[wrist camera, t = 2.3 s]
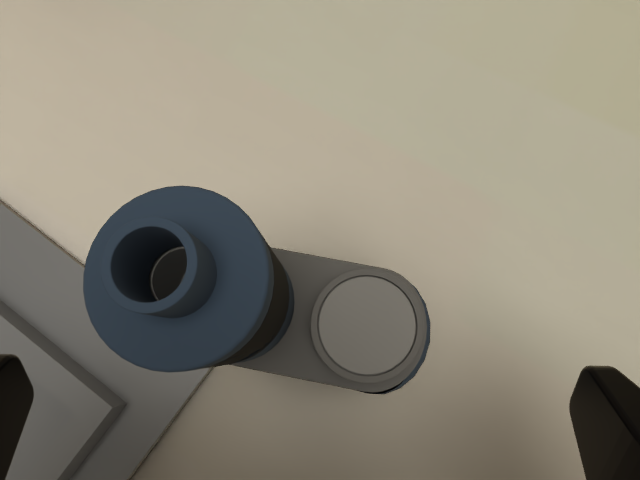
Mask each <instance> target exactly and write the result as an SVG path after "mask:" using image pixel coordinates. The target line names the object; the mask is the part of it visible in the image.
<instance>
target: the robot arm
mask: <svg viewBox="0 0 640 480" xmlns="http://www.w3.org/2000/svg"><path fill="white" fill-rule="evenodd" d="M33 398H34V389H33V386H32V383H31V381H30V379H29V377H28V375H27V373H26V371H25V369H24V366H23V364H22V362H21V360H20V359H19V357H17V356H16V355H14V354H0V480H5V479H6V476H7V473H8V471H9V468H10V465H11V462H12V459H13V457H14V454H15V451H16V448H17V445H18V442H19V440H20V437H21V434H22V431H23V428H24V426H25V423H26V420H27V417H28V414H29V412H30V409H31V406H32V403H33ZM569 409H570V416H571V420H572V424H573V428H574V432H575V436H576V440H577V444H578V448H579V452H580V456H581V460H582V464H583V468H584V472H585V476H586V480H640V388H639V387H638V386H637V385H636V384H635V383H633V382H632V381H631V380H630V379H628V378H627V377H626V376H625V375H623V374H622V373H621V372H620V371H618V370H617V369H615V368H613V367H610V366H586V367H585V368H583V369H582V371H581V373H580V376H579V378H578V381H577V383H576V386H575V388H574V391H573V394H572V396H571V399H570V404H569Z"/></svg>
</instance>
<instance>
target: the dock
mask: <svg viewBox="0 0 640 480" xmlns="http://www.w3.org/2000/svg"><path fill="white" fill-rule="evenodd" d="M84 269H85V266H84V265H83V264H81V263H80V262H79V261H78V260H76V259H75V258H74V257H72V256H71V255H70V254H69V253H67V252H66V251H65V250H63V249H62V248H61V247H60V246H58V245H57V244H56V243H55V242H53V241H52V240H51V239H49V238H48V237H47V236H46V235H44V234H43V233H42V232H40V231H39V230H38V229H37V228H35V227H34V226H33V225H31V224H30V223H29V222H28V221H26V220H25V219H24V218H22V217H21V216H20V215H19V214H17V213H16V212H15V211H13V210H12V209H11V208H10V207H8V206H7V205H6V204H4V203H3V202H2V201H1V200H0V354H14V355H16V356H17V357H19V359H20V360H21V362H22V364H23V366H24V369H25V371H26V373H27V375H28V377H29V379H30V381H31V383H32V386H33V389H34V398H33V403H32V406H31V409H30V412H29V414H28V417H27V420H26V423H25V426H24V428H23V431H22V434H21V437H20V440H19V442H18V445H17V448H16V451H15V454H14V457H13V459H12V462H11V465H10V468H9V471H8V473H7V476H6V479H5V480H130V478H131V477H132V476H133V474H134V473H135V472H136V470H137V469H138V468H139V466H140V465H141V463H142V462H143V461H144V459H145V458H146V457H147V455H148V454H149V453H150V451H151V450H152V449H153V447H154V446H155V445H156V443H157V442H158V441H159V439H160V438H161V437H162V435H163V434H164V433H165V431H166V430H167V429H168V427H169V426H170V425H171V423H172V422H173V420H174V419H175V418H176V416H177V415H178V414H179V412H180V411H181V410H182V408H183V407H184V406H185V404H186V403H187V402H188V400H189V399H190V398H191V396H192V395H193V394H194V392H195V391H196V390H197V388H198V387H199V386H200V384H201V383H202V382H203V380H204V379H205V378H206V376H207V375H208V373H209V372H210V371H211V369H212V368H213V366H212V367H210V368H204V369H198V370H192V371H185V372H171V373H168V372H159V371H152V370H148V369H145V368H142V367H138V366H136V365H134V364H132V363H130V362H128V361H126V360H124V359H122V358H121V357H120V356H119V355H117V354H116V353H115V352H114V351H112V350H111V349H110V348H109V347H108V346H107V345H106V344H105V342H104V341H103V340H102V339H101V338H100V337H99V335H98V333H97V332H96V330H95V328H94V326H93V325H92V323H91V321H90V318H89V315H88V312H87V309H86V306H85V300H84V293H83V274H84Z"/></svg>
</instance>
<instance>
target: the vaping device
mask: <svg viewBox="0 0 640 480" xmlns="http://www.w3.org/2000/svg"><path fill="white" fill-rule="evenodd" d="M265 241H266V240H265V239H264V238H263V236H262V235H261V233H260V232H259V230H258V229H257V227H256V226H255V224H254V223H253V221H252V220H251V218H250V217H249V216H248V215H247V214H246V213H245V212H244V211H243V210H242V209H241V208H240V207H239V206H238V205H236V204H235V203H233V202H232V201H230V200H229V199H228V198H226V197H224V196H222V195H220V194H218V193H215V192H213V191H210V190H206V189H203V188H199V187H190V186H173V187H164V188H160V189H156V190H152V191H150V192H147V193H145V194H143V195H140V196H138V197H136V198H134V199H133V200H131V201H130V202H128V203H126V204H125V205H123V206H122V207H121V208H120V209H119V210H118V211H116V212H115V213H114V214H113V215H112V216H111V217H110V218H109V219H108V220H107V222H106V223H105V224H104V225H103V227H102V228H101V229H100V231H99V232H98V234H97V236H96V238H95V239H94V241H93V243H92V245H91V248H90V251H89V253H88V256H87V259H86V264H85V269H84V274H83V293H84V300H85V306H86V309H87V312H88V315H89V318H90V321H91V323H92V325H93V326H94V328H95V330H96V332H97V333H98V335H99V337H100V338H101V339H102V340H103V341H104V342H105V344H106V345H107V346H108V347H109V348H110V349H111V350H112V351H114V352H115V353H116V354H117V355H119V356H120V357H121V358H122V359H124V360H126V361H128V362H130V363H132V364H134V365H136V366H138V367H142V368H145V369H148V370H152V371H159V372H168V373H171V372H185V371H192V370H198V369H204V368H210V367H212V366H213V367H216V366H222V365H224V364H225V365H228V364H229V365H234V366H239V367H244V368H249V369H254V370H259V371H263V372H268V373H273V374H278V375H283V376H288V377H293V378H298V379H303V380H308V381H313V382H318V383H323V384H328V385H333V386H338V387H343V388H348V389H353V390H357V391H360V392H364V393H369V394H386V393H389V392H391V391H394V390H397V389H399V388H401V387H402V386H404V385H405V384H406V383H407V382H408V381H409V380H411V379H412V378H413V377H414V376H415V374H416V373H417V371H418V370H419V368H420V366H421V365H422V363H423V362H424V360H425V357H426V353H427V350H428V346H429V343H430V319H429V315H428V312H427V308H426V304H425V302H424V300H423V299H422V297H421V295H420V294H419V292H418V290H417V289H416V288H415V287H414V286H413V285H412V284H411V283H410V282H409V281H408V280H406V279H405V278H404V277H403V276H401V275H400V274H398V273H396V272H394V271H391V270H388V269H384V268H379V267H373V266H368V265H363V264H357V263H352V262H346V261H341V260H336V259H330V258H325V257H319V256H314V255H309V254H303V253H298V252H292V251H287V250H282V249H276V248H271V247H270V246H269V245H268V243H267V242H265ZM215 365H216V366H215Z"/></svg>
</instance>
